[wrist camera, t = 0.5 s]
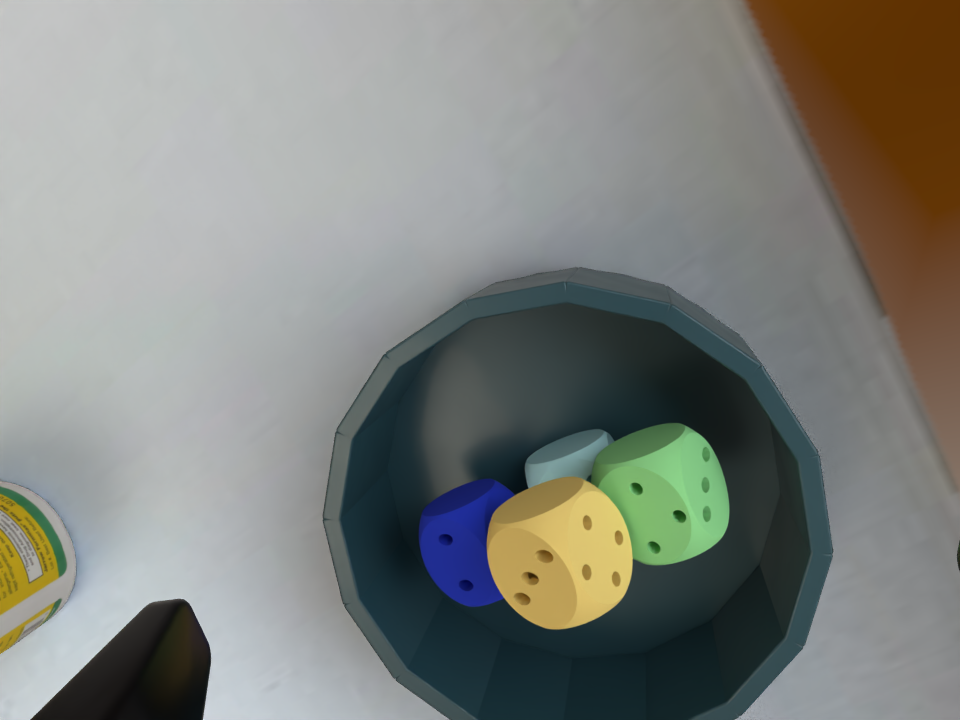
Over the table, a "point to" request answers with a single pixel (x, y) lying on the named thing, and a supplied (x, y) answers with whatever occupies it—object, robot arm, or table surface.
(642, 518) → the dice
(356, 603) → the pan
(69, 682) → the robot arm
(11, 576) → the supplement bottle
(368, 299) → the table surface
